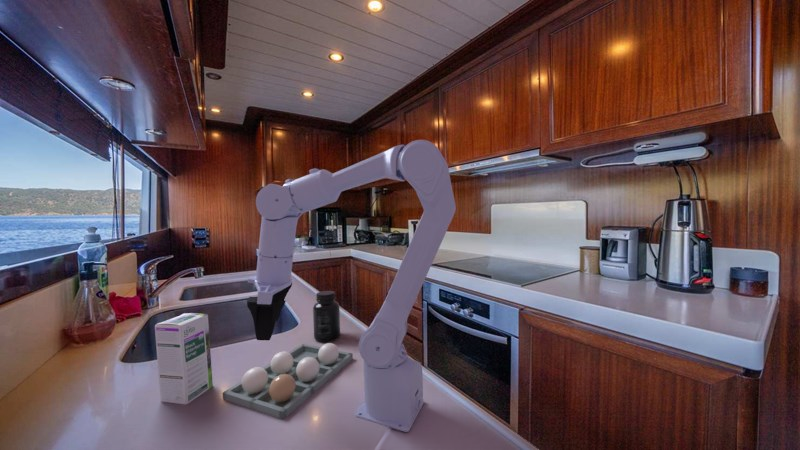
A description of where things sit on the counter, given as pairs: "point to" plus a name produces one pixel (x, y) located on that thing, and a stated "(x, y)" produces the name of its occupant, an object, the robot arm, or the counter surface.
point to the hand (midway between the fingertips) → (268, 329)
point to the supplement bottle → (326, 317)
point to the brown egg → (282, 388)
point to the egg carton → (301, 363)
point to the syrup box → (183, 357)
